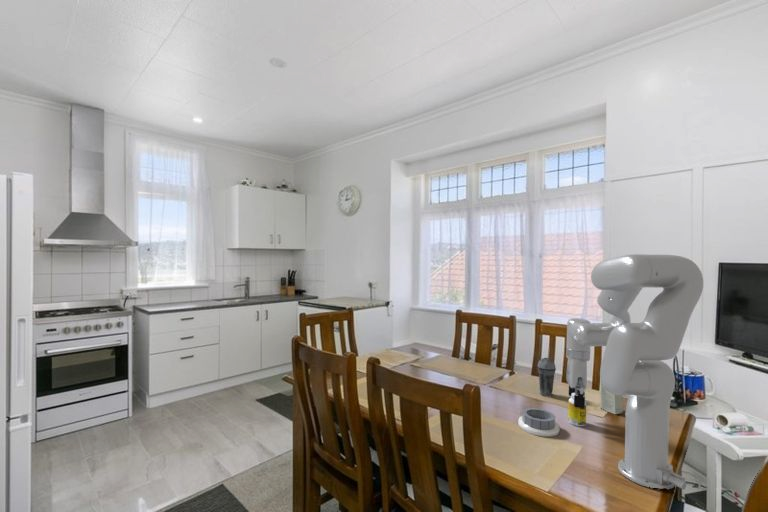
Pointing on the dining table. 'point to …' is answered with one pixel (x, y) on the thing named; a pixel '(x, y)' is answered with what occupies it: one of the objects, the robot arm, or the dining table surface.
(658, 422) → the robot arm
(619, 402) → the skincare box
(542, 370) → the beverage cup
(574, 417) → the supplement bottle
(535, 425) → the holder
